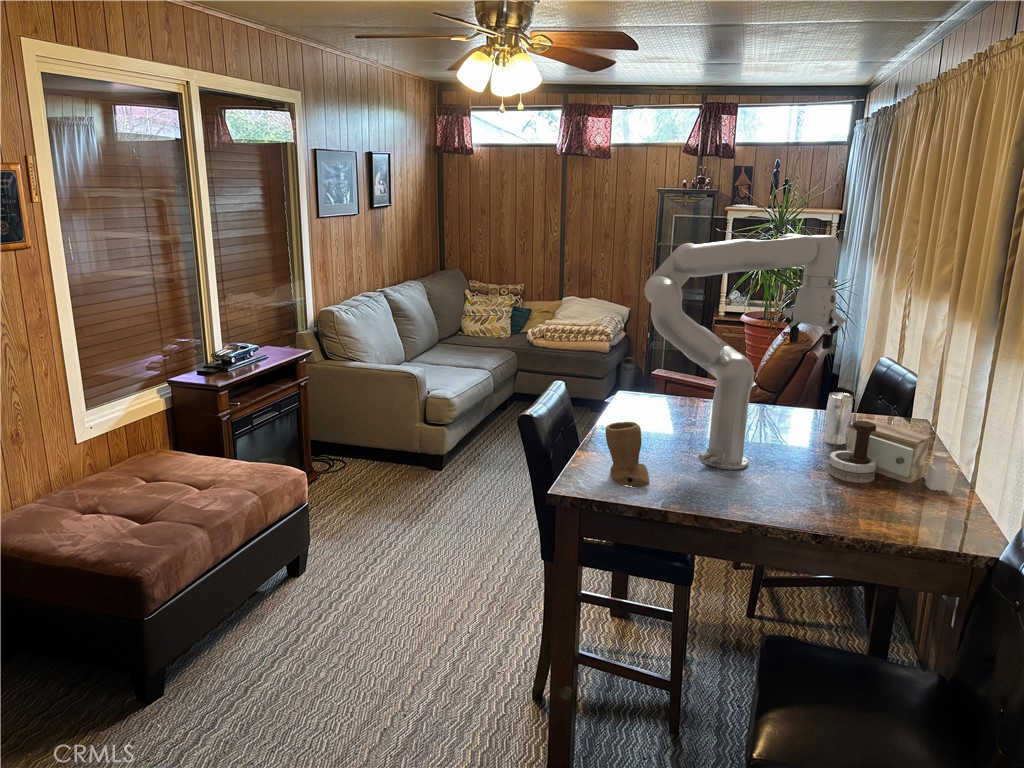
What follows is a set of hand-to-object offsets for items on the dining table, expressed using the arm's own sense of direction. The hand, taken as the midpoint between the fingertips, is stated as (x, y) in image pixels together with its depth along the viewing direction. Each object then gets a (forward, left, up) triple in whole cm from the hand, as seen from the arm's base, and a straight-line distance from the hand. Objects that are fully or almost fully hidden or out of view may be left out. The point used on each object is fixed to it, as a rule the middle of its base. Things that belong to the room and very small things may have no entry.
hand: (809, 345), depth 198 cm
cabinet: (+10, -17, -34) cm, 40 cm away
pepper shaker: (+14, -32, -34) cm, 49 cm away
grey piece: (+5, -17, -32) cm, 36 cm away
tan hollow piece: (-48, +20, -35) cm, 62 cm away
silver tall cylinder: (+27, +3, -34) cm, 44 cm away
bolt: (+6, -15, -34) cm, 38 cm away
